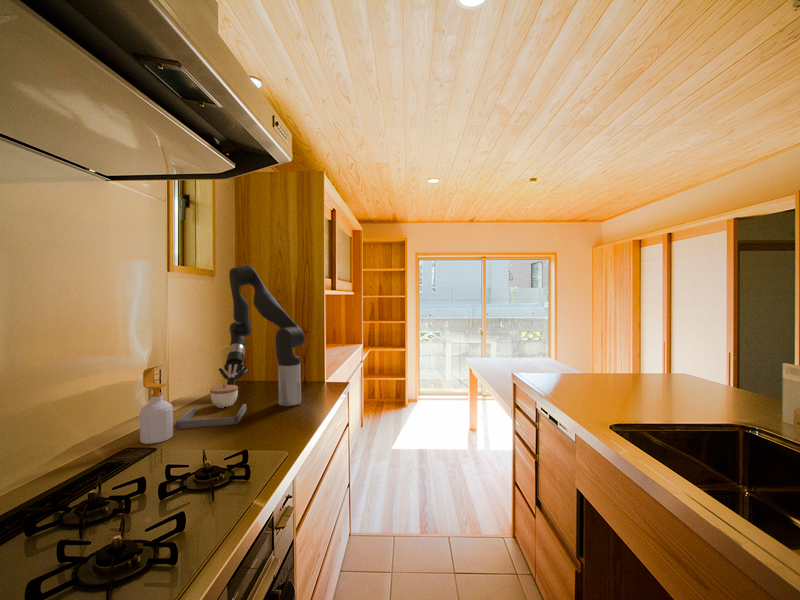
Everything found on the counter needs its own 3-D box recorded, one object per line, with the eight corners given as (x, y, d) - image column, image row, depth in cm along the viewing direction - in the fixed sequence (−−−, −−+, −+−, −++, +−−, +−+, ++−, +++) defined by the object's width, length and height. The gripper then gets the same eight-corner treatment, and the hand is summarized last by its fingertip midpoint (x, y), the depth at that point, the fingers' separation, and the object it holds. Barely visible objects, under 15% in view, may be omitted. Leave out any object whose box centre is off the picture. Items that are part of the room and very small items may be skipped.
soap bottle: (161, 444, 115) (160, 367, 115) (133, 444, 115) (131, 367, 115) (179, 433, 124) (178, 362, 124) (152, 433, 124) (151, 362, 124)
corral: (246, 409, 149) (246, 403, 149) (237, 423, 133) (237, 417, 133) (191, 413, 145) (191, 407, 144) (176, 428, 128) (176, 421, 128)
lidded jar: (224, 411, 148) (223, 388, 148) (204, 408, 151) (204, 386, 151) (243, 403, 158) (243, 382, 158) (224, 401, 161) (224, 380, 161)
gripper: (219, 351, 173) (212, 382, 161) (249, 350, 176) (244, 381, 164) (222, 360, 178) (216, 391, 166) (251, 359, 181) (247, 389, 169)
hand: (230, 386), depth 165 cm, fingers closed
